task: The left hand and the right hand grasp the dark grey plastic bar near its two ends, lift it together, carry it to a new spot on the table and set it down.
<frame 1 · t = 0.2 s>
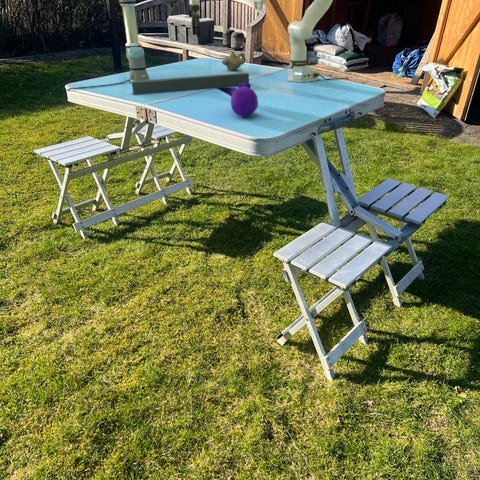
left hand: (196, 35, 349), 28 cm above the table, tool pointing down, fingers open, 13 cm apart
right hand: (258, 9, 300), 48 cm above the table, tool pointing down, fingers open, 8 cm apart
bar: (192, 88, 312), on the table
toy: (239, 113, 253), on the table
teapot: (233, 70, 371), on the table
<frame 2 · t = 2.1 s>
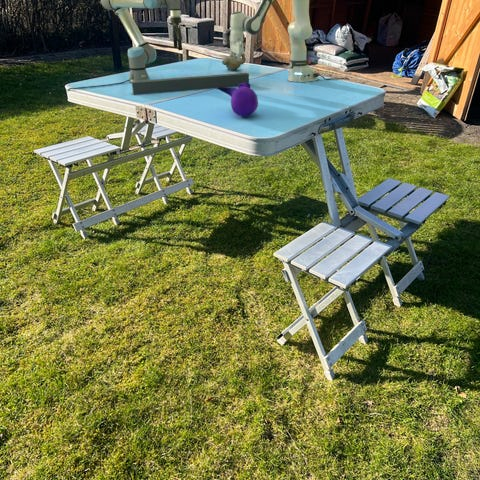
left hand: (178, 49, 330), 22 cm above the table, tool pointing down, fingers open, 13 cm apart
right hand: (237, 59, 312), 17 cm above the table, tool pointing down, fingers open, 8 cm apart
nothing on the table moved.
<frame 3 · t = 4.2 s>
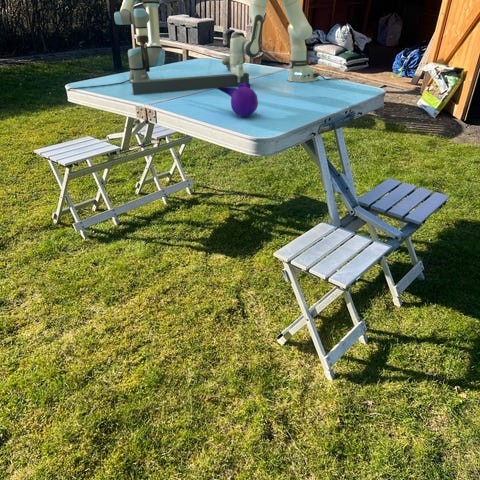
left hand: (146, 70, 300), 14 cm above the table, tool pointing down, fingers open, 13 cm apart
right hand: (237, 81, 319), 3 cm above the table, tool pointing down, fingers closed on bar, 5 cm apart
bar: (192, 88, 312), on the table, touching right hand
everything else where it was.
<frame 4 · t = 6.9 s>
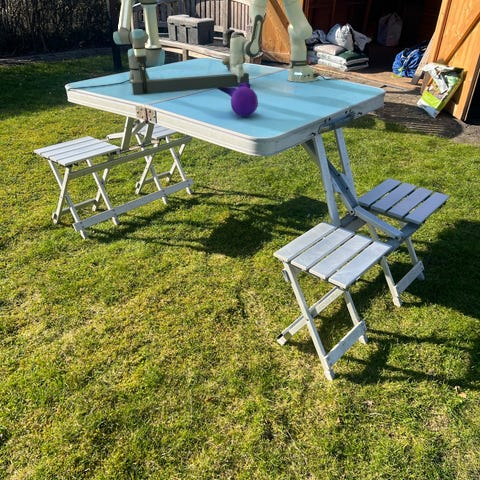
left hand: (144, 92, 304), 1 cm above the table, tool pointing down, fingers closed on bar, 6 cm apart
right hand: (237, 81, 319), 3 cm above the table, tool pointing down, fingers closed on bar, 5 cm apart
bar: (192, 88, 312), on the table, touching left hand, right hand
everything else where it was.
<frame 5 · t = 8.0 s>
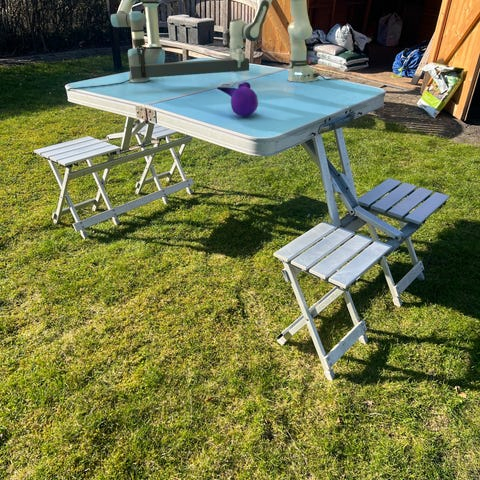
left hand: (143, 76, 299), 11 cm above the table, tool pointing down, fingers closed on bar, 6 cm apart
right hand: (237, 66, 314), 13 cm above the table, tool pointing down, fingers closed on bar, 5 cm apart
bar: (191, 73, 307), point 10 cm above the table, touching left hand, right hand
everything else where it was.
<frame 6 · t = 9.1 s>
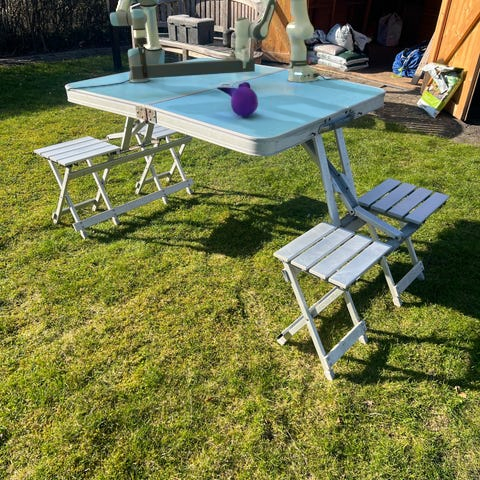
left hand: (145, 76, 287), 13 cm above the table, tool pointing down, fingers closed on bar, 6 cm apart
right hand: (242, 67, 303), 14 cm above the table, tool pointing down, fingers closed on bar, 5 cm apart
bar: (195, 74, 296), point 12 cm above the table, touching left hand, right hand
everything else where it was.
when the left hand's fingers open (2 cm above the table, at t = 11.8 s): bar drops 1 cm, on the table.
when the right hand's fingers open (4 cm above the table, at t = 12.0 s): bar stays where it is, on the table.
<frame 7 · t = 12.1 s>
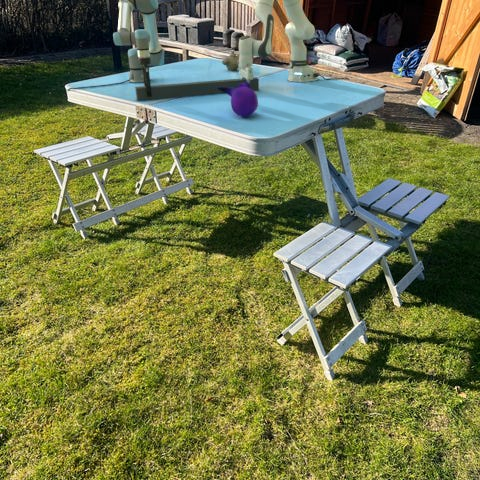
left hand: (148, 95, 287), 3 cm above the table, tool pointing down, fingers open, 8 cm apart
right hand: (246, 84, 302), 4 cm above the table, tool pointing down, fingers open, 6 cm apart
bar: (199, 94, 296), on the table
everything else where it was.
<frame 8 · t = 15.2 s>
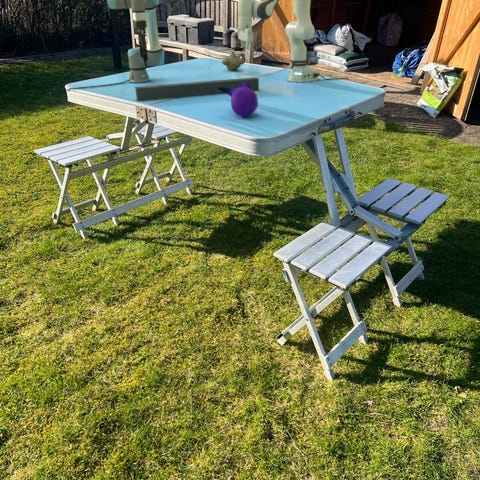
left hand: (144, 58, 276), 24 cm above the table, tool pointing down, fingers open, 13 cm apart
right hand: (245, 48, 291), 27 cm above the table, tool pointing down, fingers open, 8 cm apart
nothing on the table moved.
at the end: bar inside the target area (0.4 cm from its centre), on the table; bar tilted 0°; bar never tilted more than 2° during the clip; both hands held the bar at the same time; the left hand is holding nothing; the right hand is holding nothing; bar at rest at the end (0.0 cm/s) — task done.
